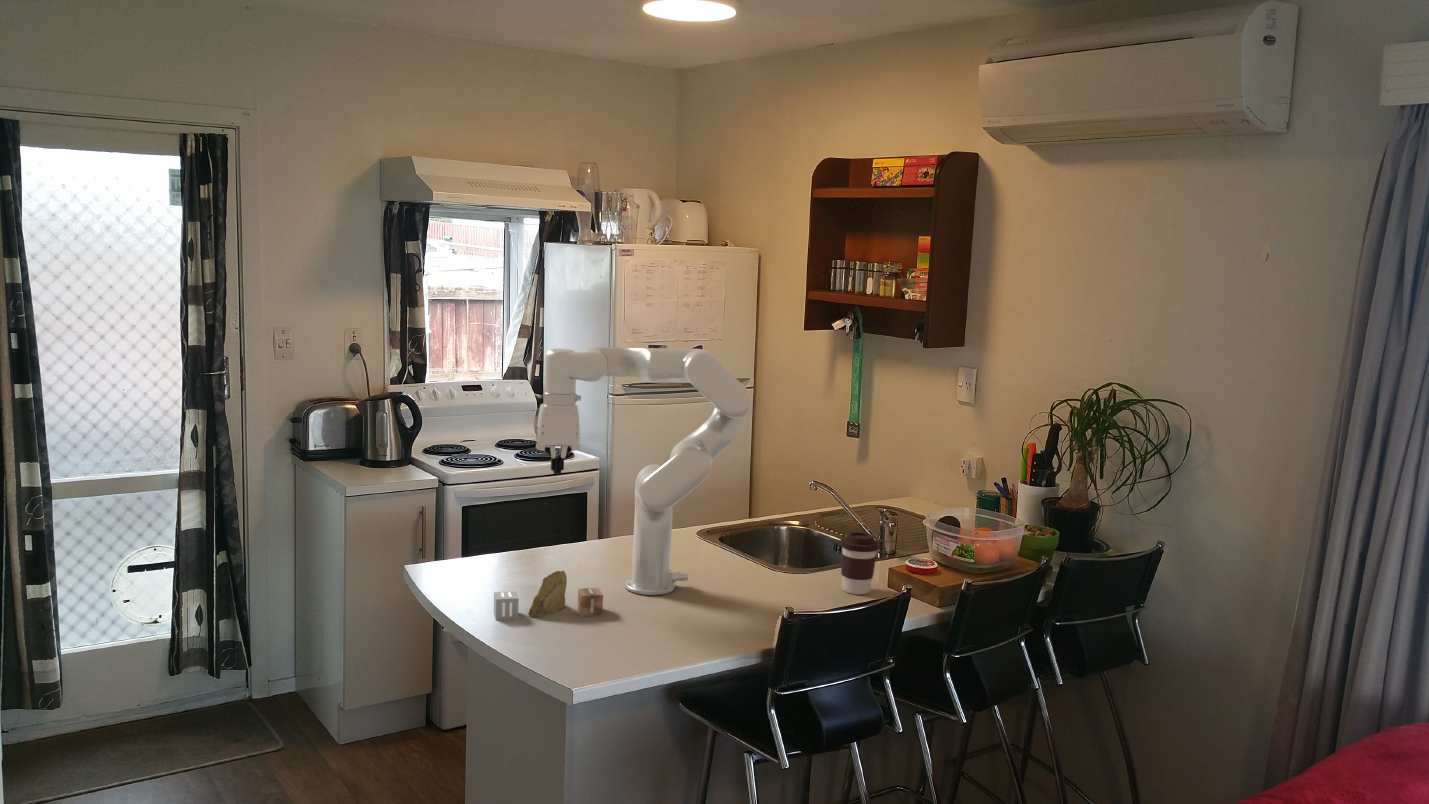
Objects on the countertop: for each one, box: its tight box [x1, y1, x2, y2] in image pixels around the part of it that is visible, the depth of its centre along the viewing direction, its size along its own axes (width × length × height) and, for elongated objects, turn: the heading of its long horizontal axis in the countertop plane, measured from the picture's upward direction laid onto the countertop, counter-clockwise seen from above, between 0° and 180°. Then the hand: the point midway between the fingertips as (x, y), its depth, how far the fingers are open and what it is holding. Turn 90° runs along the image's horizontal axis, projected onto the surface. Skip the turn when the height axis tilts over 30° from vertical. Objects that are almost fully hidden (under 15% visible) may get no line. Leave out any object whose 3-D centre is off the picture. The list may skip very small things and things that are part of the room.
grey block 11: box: [493, 590, 520, 621], centre depth 238 cm, size 5×5×5 cm
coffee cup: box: [839, 531, 880, 596], centre depth 269 cm, size 10×10×15 cm
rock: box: [527, 570, 568, 618], centre depth 243 cm, size 11×9×10 cm
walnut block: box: [577, 587, 604, 617], centre depth 244 cm, size 5×5×5 cm
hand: (557, 473), depth 256 cm, fingers closed
